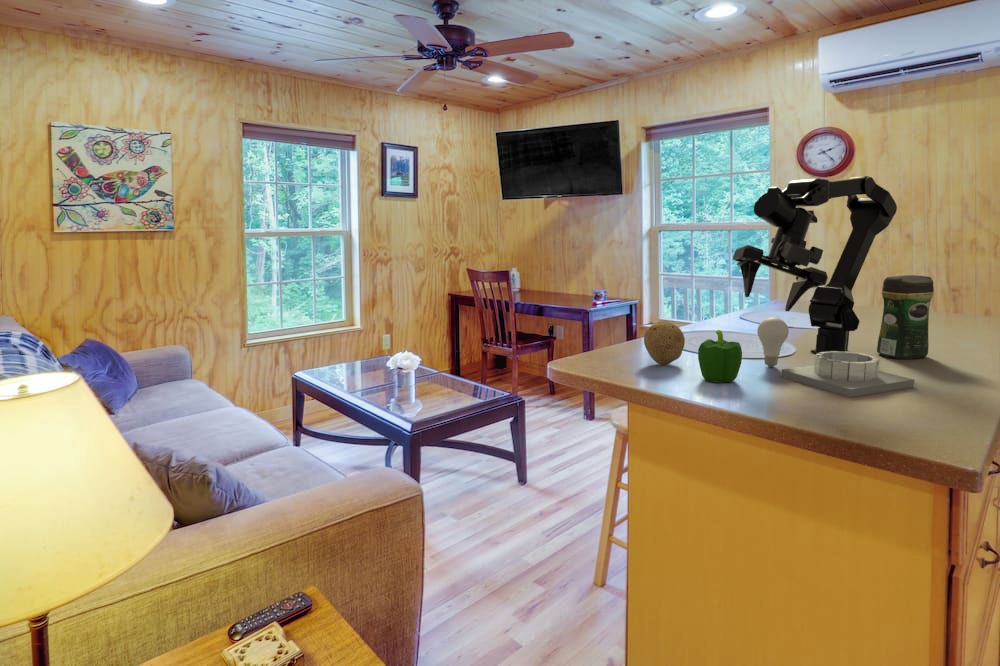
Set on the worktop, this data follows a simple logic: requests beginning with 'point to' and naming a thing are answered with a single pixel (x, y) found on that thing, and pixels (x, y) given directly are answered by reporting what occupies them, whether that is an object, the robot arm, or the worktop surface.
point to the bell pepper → (719, 359)
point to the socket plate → (848, 382)
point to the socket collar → (846, 366)
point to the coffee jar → (905, 316)
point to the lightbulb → (772, 338)
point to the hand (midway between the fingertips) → (766, 304)
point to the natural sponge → (664, 342)
